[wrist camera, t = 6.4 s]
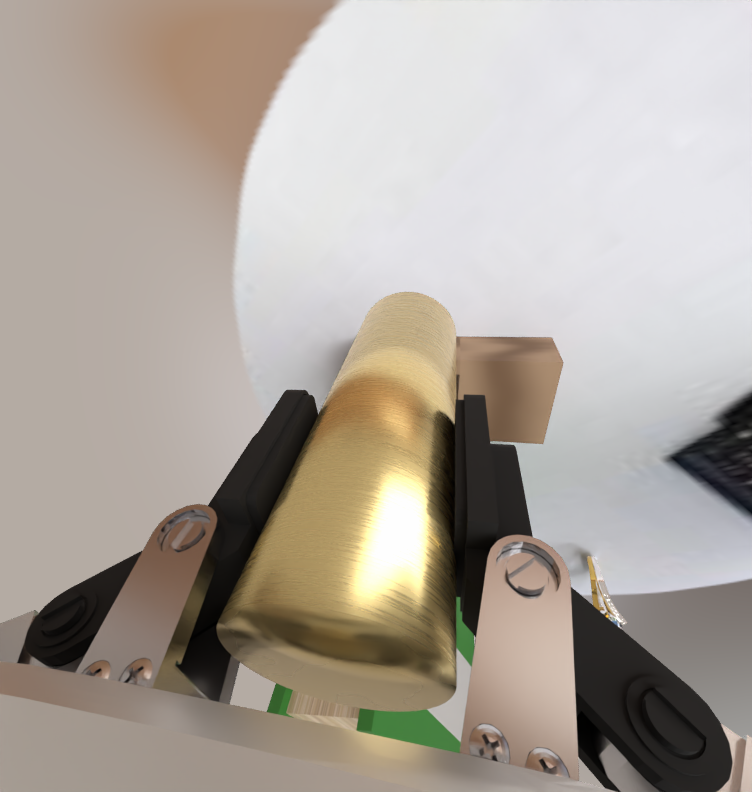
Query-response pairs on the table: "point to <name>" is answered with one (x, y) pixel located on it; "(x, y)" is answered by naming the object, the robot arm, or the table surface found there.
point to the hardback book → (415, 727)
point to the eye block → (511, 383)
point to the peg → (364, 530)
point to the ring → (602, 594)
